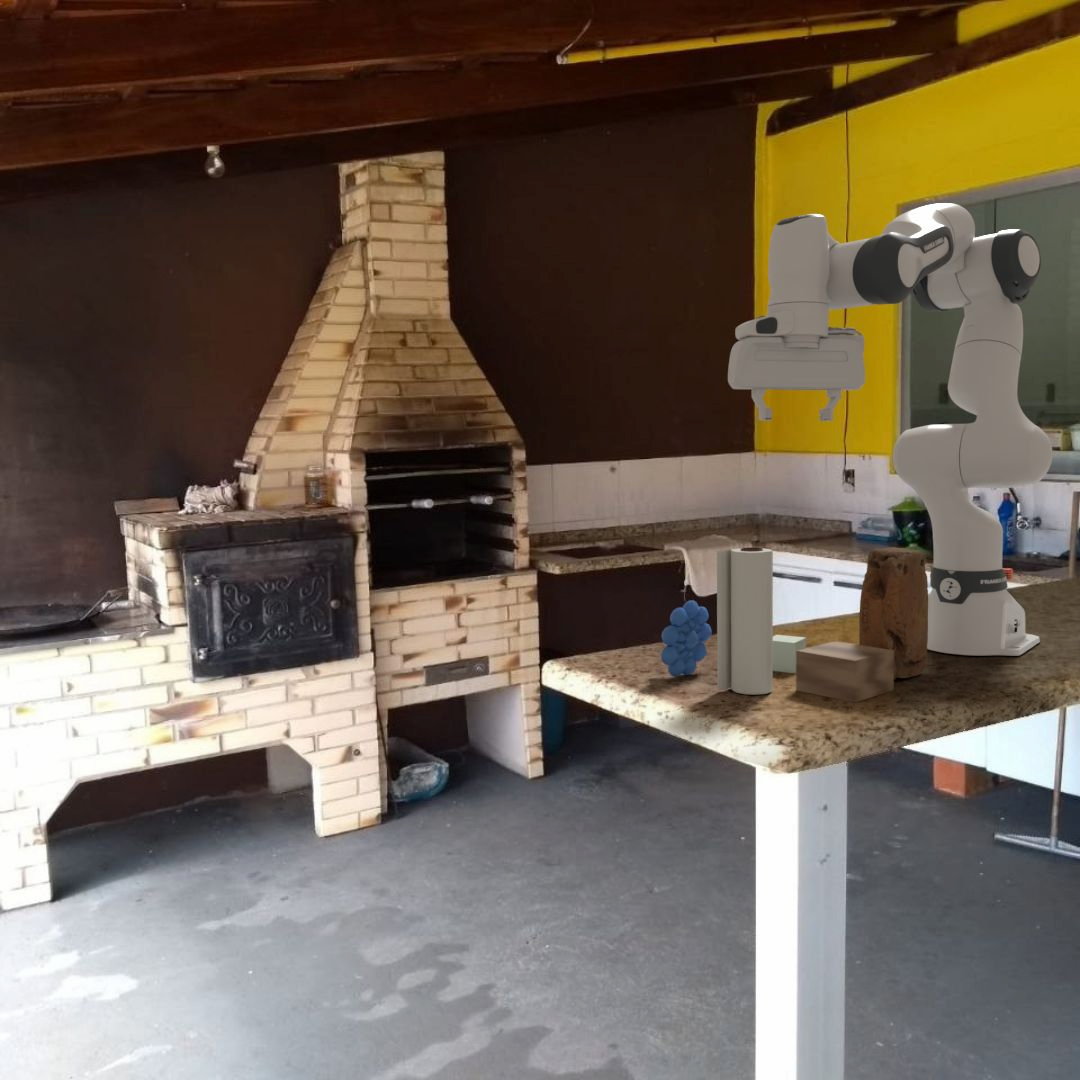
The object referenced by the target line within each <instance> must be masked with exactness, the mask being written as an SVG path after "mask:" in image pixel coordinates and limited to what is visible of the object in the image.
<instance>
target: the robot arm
mask: <svg viewBox="0 0 1080 1080" xmlns="http://www.w3.org/2000/svg"><path fill="white" fill-rule="evenodd" d="M975 235H976V225H975V220H974V218H973V216H972V214H971V213H970V212H969V211H968V210H967V209H966V208H965V207H963V206H961V205H960V204H956V203H947V202H942V203H932V204H927V205H924V206H923V205H922V206H919V207H916V208H913V209H911V210H907V211H906V212H904V213H901V214H899V215H897V217H894V219H893V220H891V221H890V222H889V223H888V224H887V225H886V226H885V227H884V229H883V230H882V232H881V235H875V236H873V237H870V238H865V239H859V240H854V241H849V242H847V241H846V242H844V243H843V242H842V243H840V242H839V241H837V240H835V239H834V238H833V237H832V235H831V234H830V233H829V230H828V222H827V218H826V216H825V215H823V214H818V213H810V214H809V213H808V214H803V215H795V216H791V217H788V218H784V219H781V220H779V221H778V222H777V223H775V225H774V227H773V228H772V232H771V236H770V240H769V246H768V247H769V249H768V262H767V263H768V264H767V279H768V280H767V281H768V283H769V289H770V293H769V298H768V301H767V305H766V306H767V308H766V309H767V310H766V311H767V314H766V315H762V316H761V315H760V316H758V317H755V318H754V319H751V320H748V321H745V322H743V323H741V324H739V325H738V326H736V327H735V329H734V330H735V332H734V333H735V334H734V335H735V338H736V340H738V341H736V342H735V343H734V344H733V345H732V348H731V350H730V353H729V360H728V361H729V362H728V366H727V367H728V369H727V370H728V371H727V382H728V385H729V386H730V387H731V389H733V390H751V399H752V401H753V402H754V404H755V406H756V408H757V409H758V420H759V421H764V422H765V421H772V420H773V419H772V418H773V414H772V413H773V408H771V407H767V405H766V403H765V401H764V398H763V397H765V396H766V390H770V391H771V390H772V391H774V390H775V391H777V390H778V391H780V390H782V391H784V390H785V391H788V390H789V391H826V398H827V399H828V398H829V400H828V402H827V404H826V406H825V407H824V408H819V413H818V414H819V416H818V417H819V418H818V419H819V421H820V422H832V421H833V420H834V409H835V408H836V406H837V405H838V403H839V401H840V400H841V398H842V391H857V390H860V389H862V388H863V386H864V384H865V383H866V370H865V369H866V368H865V361H864V352H865V337H864V336H863V334H862V333H861V332H860V331H859V330H857V329H856V328H854V327H837V326H835V327H834V326H829V319H830V318H829V315H830V314H829V311H834V310H842V309H852V308H859V307H866V306H874V305H875V306H876V305H878V306H879V305H897V304H900V303H902V302H903V301H905V300H906V299H907V298H908V297H909V296H910V295H911V297H912V298H913V300H914V301H915V303H916V304H917V306H919V307H920V308H921V309H922V310H924V311H926V312H945V311H949V310H950V309H957V308H963V312H964V317H963V319H962V322H961V325H960V328H959V330H958V334H957V337H956V341H955V346H954V350H953V356H952V361H951V366H950V372H949V378H948V382H947V392H948V396H949V397H950V399H951V401H952V402H953V403H954V404H955V405H956V406H958V407H959V408H960V409H962V410H964V411H966V412H968V413H969V414H973V415H975V416H976V419H975V421H973V422H970V423H944V424H943V423H942V424H940V423H939V424H927V425H923V426H918V427H913V428H909V429H906V430H904V431H903V432H902V433H901V434H900V435H899V437H898V438H897V439H896V442H895V444H894V447H893V450H892V463H893V468H894V471H895V472H896V474H897V476H898V477H899V478H900V479H901V481H902V482H904V483H905V484H907V485H908V486H909V487H910V488H911V489H913V490H914V491H915V492H916V494H918V497H919V498H920V499H921V501H922V502H923V503H924V506H925V509H926V510H927V513H928V516H929V518H930V522H931V528H932V529H931V530H932V540H933V541H932V544H933V545H932V546H933V565H932V566H931V567H930V574H929V579H930V580H929V582H930V587H931V588H932V589H931V591H930V592H929V593H928V643H927V650H928V651H929V650H930V651H933V652H938V653H944V654H951V655H959V656H961V655H962V656H1009V657H1010V656H1011V657H1012V656H1014V657H1015V656H1017V657H1018V656H1021V655H1022V654H1023V655H1024V653H1026V652H1027V651H1028V650H1030V649H1032V648H1033V647H1034V646H1036V645H1037V644H1039V643H1040V642H1041V641H1040V636H1039V635H1035V634H1032V633H1031V634H1030V633H1026V612H1025V609H1024V607H1022V606H1021V605H1020V604H1019V603H1018V601H1016V599H1015V598H1014V597H1013V596H1012V595H1011V594H1010V593H1009V591H1008V590H1007V588H1008V587H1009V586H1008V581H1012V579H1013V577H1014V569H1013V568H1012V567H1011V568H1008V567H1007V568H1004V567H1003V548H1004V547H1003V546H1004V545H1003V544H1004V541H1003V540H1004V528H1003V526H1002V523H1001V522H1000V520H999V519H998V518H997V516H995V515H994V514H993V513H990V512H989V511H987V510H986V509H983V508H981V507H979V506H977V505H976V504H975V503H974V502H973V501H972V499H971V497H970V494H969V488H970V489H971V488H972V489H973V488H976V489H977V488H980V489H981V488H982V489H984V488H985V489H986V488H987V489H1013V488H1018V487H1024V486H1028V485H1034V484H1038V483H1039V482H1041V481H1042V479H1043V478H1044V477H1045V476H1046V475H1047V473H1048V472H1049V470H1050V468H1051V465H1052V462H1053V455H1054V453H1053V446H1052V443H1051V440H1050V438H1049V437H1048V435H1047V434H1046V432H1045V431H1044V430H1043V429H1042V428H1041V427H1039V426H1038V425H1036V424H1035V423H1033V422H1032V421H1031V420H1030V419H1029V418H1028V417H1027V416H1026V414H1025V413H1024V412H1023V410H1022V408H1021V406H1020V403H1019V398H1018V383H1019V376H1020V366H1021V359H1022V354H1023V353H1022V352H1023V346H1024V345H1023V344H1024V343H1023V342H1024V321H1023V313H1022V309H1021V308H1020V306H1019V305H1018V304H1019V303H1021V302H1023V301H1024V300H1026V298H1027V297H1028V295H1029V293H1030V292H1031V291H1030V290H1031V289H1032V287H1033V286H1034V284H1035V282H1036V281H1037V279H1038V276H1039V273H1040V271H1041V263H1042V261H1041V260H1042V259H1041V258H1042V257H1041V252H1040V248H1039V246H1038V243H1037V241H1036V239H1035V238H1034V237H1033V236H1032V235H1031V234H1030V233H1029V232H1028V231H1026V230H1025V229H1016V228H1015V229H1014V228H1013V229H1012V228H1011V229H1004V230H1000V231H998V232H997V233H992V234H991V233H990V234H986V235H985V234H984V235H982V236H978V237H975Z"/></svg>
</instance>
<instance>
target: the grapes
mask: <svg viewBox="0 0 1080 1080" xmlns="http://www.w3.org/2000/svg"><path fill="white" fill-rule="evenodd" d="M698 604H699V603H698V602H697V601H695V600H694V599H693V600H692V599H691V600H688V601H686V602H685V603H684V604H683V606H682V607H676V608H675V609H673V610H672V612H671V614H670V616H669V621H670V623H671V625H667V626H666V627H665V628H663V630H662V632H661V640H662V642H663V644H665V645H666V646H664V648H663V649H662V650H661V651H660V659H661V661H662V663H663V664H664V665H666V666H667V671H668V673H669V675H670V676H671V677H673V678H675V677H679V676H681V675H682V674H683V675H684V676H689V675H692V674H693V673H694V672H695V671H696V669H697V662H698V663H699V662H701V661H702V660H704V659H705V658H706V656H707V654H708V649H707V647H706V645H705V644H704V643H706V641H708V640H709V639H710V637H711V636H712V633H713V631H712V628H711V627H712V626H710V624H709V623H707V621H708V619H709V612H708V610H707V608H706V607H704V606H699V605H698Z"/></svg>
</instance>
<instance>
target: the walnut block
mask: <svg viewBox="0 0 1080 1080" xmlns="http://www.w3.org/2000/svg"><path fill="white" fill-rule="evenodd" d="M795 675H796V678H795V683H796V684H795V685H796V686H795V687H796V688H795V689H796V690H795V691H797V692H803V693H807V694H812V695H817V696H823V697H825V698H832V699H835V700H841V701H846V702H850V703H858V702H861V701H864V700H867V699H871V698H873V697H877V696H880V695H883V694H886V693H889V692H892V691H894V650H889V649H882V648H876V647H870V646H863V645H859V644H855V643H851V642H850V643H849V642H844V641H837V640H836V641H830V642H826V643H822V644H819V645H814V646H809V647H806V649H802V650H798V651H796V673H795Z"/></svg>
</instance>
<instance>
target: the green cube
mask: <svg viewBox="0 0 1080 1080" xmlns="http://www.w3.org/2000/svg"><path fill="white" fill-rule="evenodd" d="M806 648H807V637H804V636H793V635H785V634H784V635H783V634H775V635H773V672H781V673H791V674H796V651H798V650H802V649H806Z"/></svg>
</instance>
